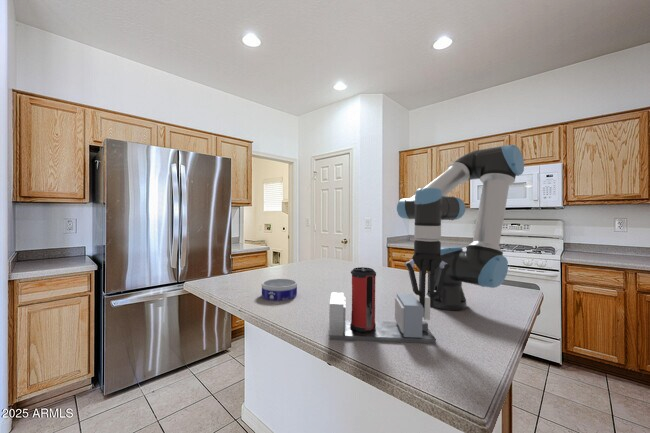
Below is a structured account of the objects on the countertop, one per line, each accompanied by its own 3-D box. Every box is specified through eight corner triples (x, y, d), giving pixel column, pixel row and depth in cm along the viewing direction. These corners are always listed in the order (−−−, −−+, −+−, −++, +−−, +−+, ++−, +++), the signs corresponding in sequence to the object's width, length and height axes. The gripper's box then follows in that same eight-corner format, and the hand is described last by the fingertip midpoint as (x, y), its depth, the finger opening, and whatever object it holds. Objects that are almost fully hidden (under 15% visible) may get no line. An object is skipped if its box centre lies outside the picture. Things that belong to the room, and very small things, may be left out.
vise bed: (424, 326, 92) (424, 322, 92) (436, 343, 80) (436, 339, 80) (331, 323, 94) (331, 319, 94) (329, 339, 82) (329, 335, 82)
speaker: (349, 322, 91) (350, 266, 91) (373, 323, 91) (374, 266, 91) (350, 332, 84) (351, 271, 84) (377, 333, 83) (377, 271, 83)
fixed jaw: (345, 320, 93) (345, 292, 93) (345, 335, 81) (345, 304, 81) (331, 319, 94) (331, 292, 94) (329, 335, 82) (329, 303, 82)
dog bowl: (301, 292, 130) (301, 279, 130) (289, 302, 115) (289, 288, 115) (270, 290, 134) (270, 277, 133) (255, 299, 119) (255, 285, 119)
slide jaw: (421, 321, 92) (421, 294, 92) (433, 338, 80) (433, 306, 80) (394, 320, 92) (394, 293, 92) (401, 336, 80) (402, 305, 80)
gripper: (445, 239, 89) (443, 314, 89) (402, 238, 90) (401, 312, 90) (454, 241, 81) (453, 323, 81) (408, 240, 82) (406, 321, 82)
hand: (426, 317), depth 86 cm, fingers closed
